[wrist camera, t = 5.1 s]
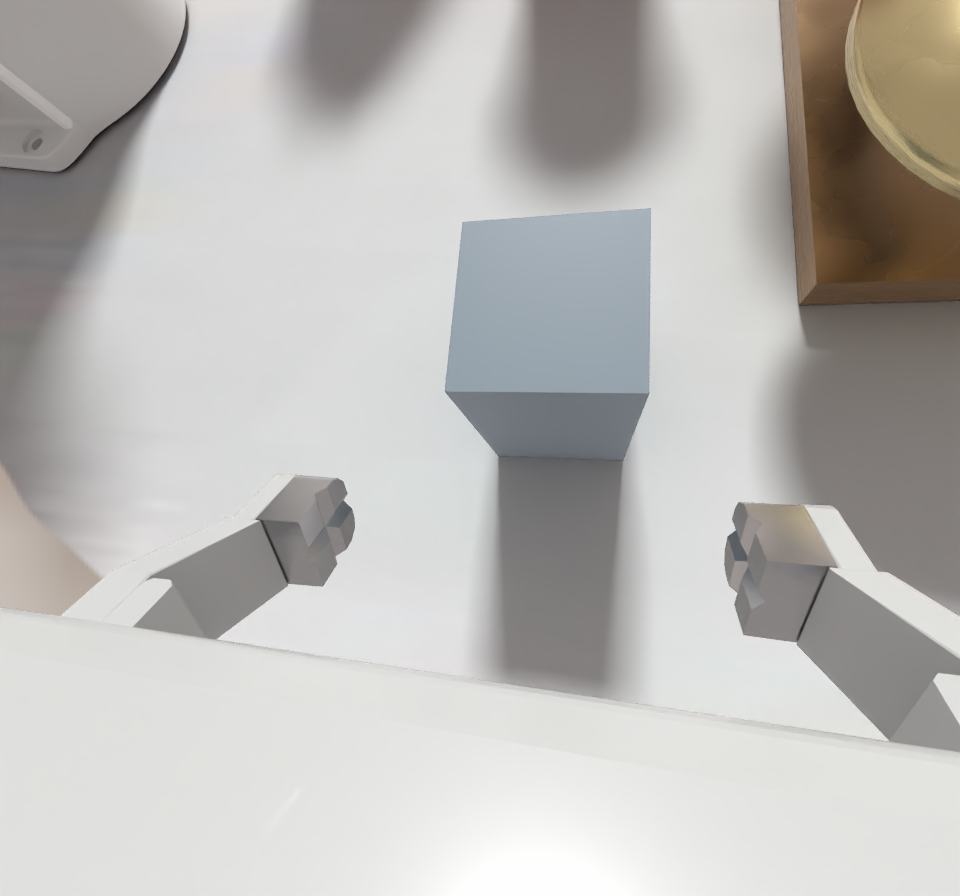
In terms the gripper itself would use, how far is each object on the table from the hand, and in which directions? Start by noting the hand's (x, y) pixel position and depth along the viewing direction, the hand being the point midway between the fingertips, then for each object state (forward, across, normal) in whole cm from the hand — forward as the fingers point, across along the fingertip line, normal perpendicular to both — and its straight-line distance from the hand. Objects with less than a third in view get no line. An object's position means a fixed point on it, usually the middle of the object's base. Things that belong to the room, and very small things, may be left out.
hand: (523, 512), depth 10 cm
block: (+10, 0, +2) cm, 11 cm away
